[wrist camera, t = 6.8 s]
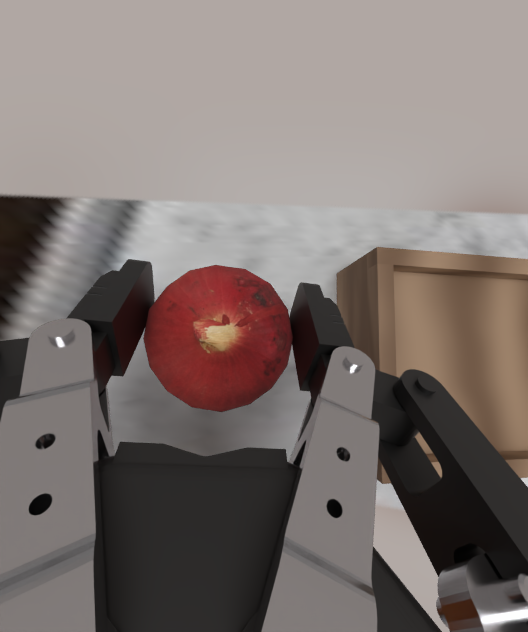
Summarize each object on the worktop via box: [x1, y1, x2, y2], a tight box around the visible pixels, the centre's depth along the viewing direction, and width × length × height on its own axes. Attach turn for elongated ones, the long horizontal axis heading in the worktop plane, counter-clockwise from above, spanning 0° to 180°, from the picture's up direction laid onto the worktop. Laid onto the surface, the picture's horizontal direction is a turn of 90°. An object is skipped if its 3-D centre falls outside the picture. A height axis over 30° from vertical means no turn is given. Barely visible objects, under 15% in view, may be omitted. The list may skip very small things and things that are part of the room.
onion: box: [143, 265, 293, 412], centre depth 11 cm, size 6×6×8 cm
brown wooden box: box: [337, 247, 528, 484], centre depth 19 cm, size 13×13×6 cm
